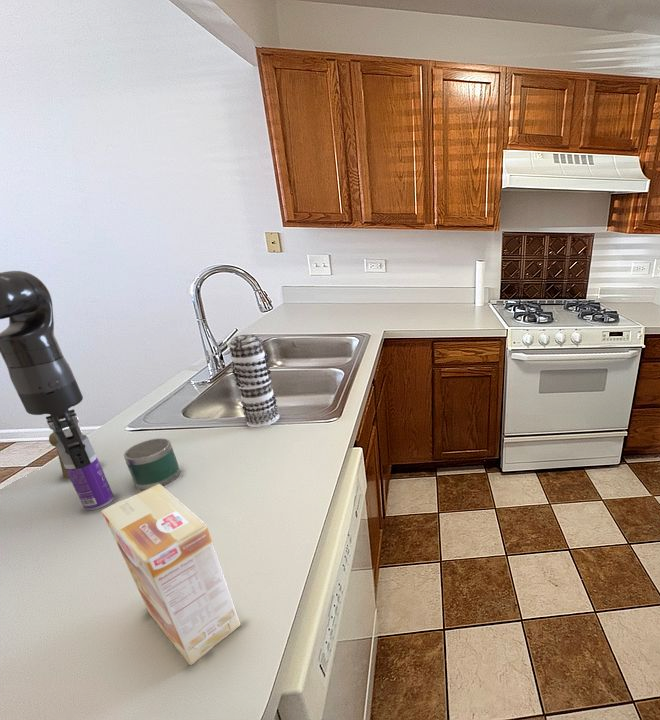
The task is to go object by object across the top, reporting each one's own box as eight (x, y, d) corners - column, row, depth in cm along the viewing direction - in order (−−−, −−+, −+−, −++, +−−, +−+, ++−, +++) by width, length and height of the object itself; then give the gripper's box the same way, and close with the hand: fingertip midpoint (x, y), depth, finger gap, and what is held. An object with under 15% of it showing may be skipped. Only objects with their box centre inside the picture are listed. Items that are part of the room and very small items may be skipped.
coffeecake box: (144, 609, 61) (98, 509, 53) (196, 575, 66) (160, 481, 59) (188, 669, 53) (141, 561, 46) (243, 625, 58) (208, 523, 51)
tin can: (127, 492, 85) (114, 461, 82) (147, 469, 92) (136, 440, 89) (169, 487, 87) (158, 456, 84) (186, 465, 94) (177, 436, 91)
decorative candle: (287, 417, 115) (270, 335, 106) (256, 431, 108) (235, 345, 98) (270, 408, 120) (252, 329, 110) (238, 422, 112) (216, 338, 103)
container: (118, 499, 83) (91, 438, 78) (89, 513, 79) (59, 450, 74) (109, 492, 85) (82, 432, 80) (80, 505, 82) (50, 443, 76)
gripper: (14, 379, 74) (51, 455, 80) (18, 402, 65) (59, 486, 72) (69, 367, 79) (100, 440, 86) (79, 387, 71) (113, 466, 77)
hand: (81, 460), depth 79 cm, fingers closed on container, 4 cm apart
